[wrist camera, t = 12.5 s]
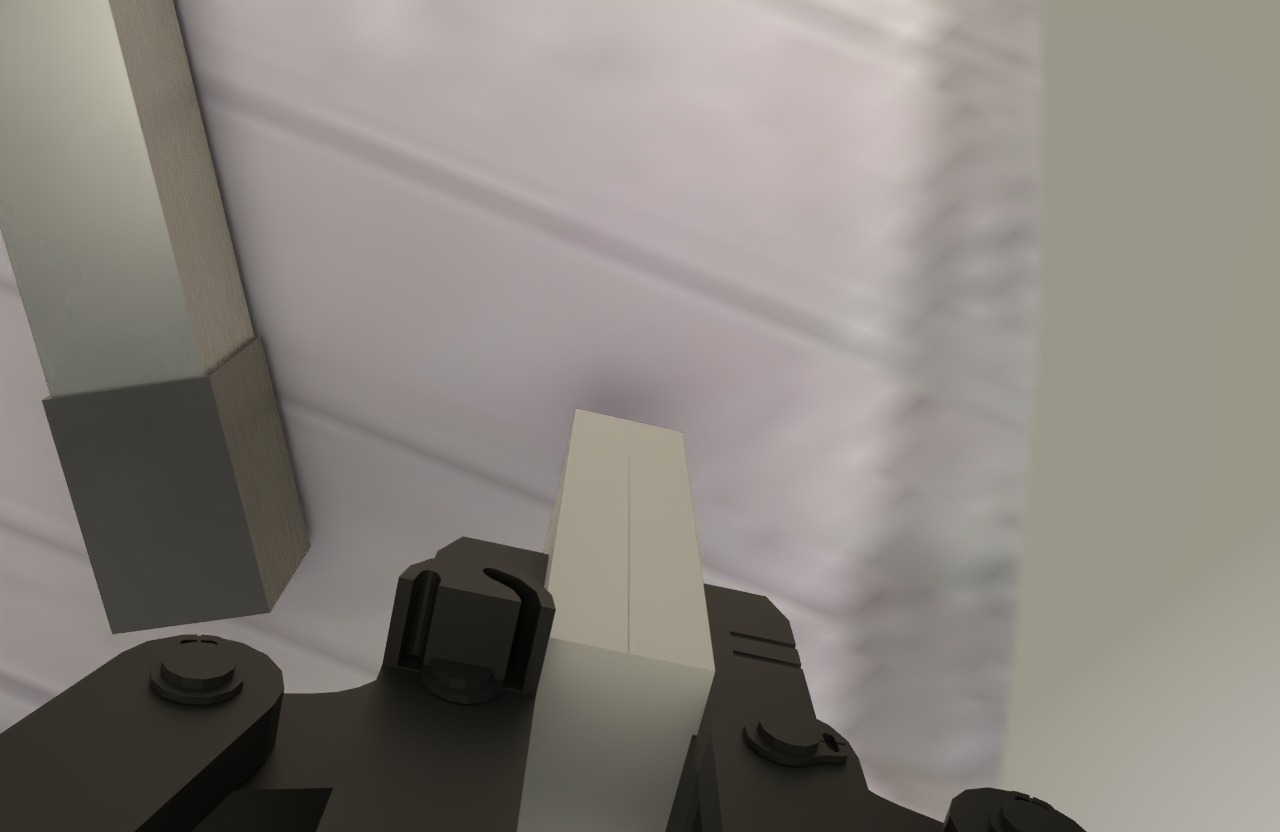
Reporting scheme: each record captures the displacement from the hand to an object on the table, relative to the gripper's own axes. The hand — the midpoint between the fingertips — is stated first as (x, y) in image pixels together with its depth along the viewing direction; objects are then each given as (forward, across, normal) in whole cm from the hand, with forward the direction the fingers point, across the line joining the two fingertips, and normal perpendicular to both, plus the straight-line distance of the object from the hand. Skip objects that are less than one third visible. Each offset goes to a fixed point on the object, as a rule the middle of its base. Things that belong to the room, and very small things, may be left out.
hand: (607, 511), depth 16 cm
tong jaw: (+5, -9, +4) cm, 11 cm away
